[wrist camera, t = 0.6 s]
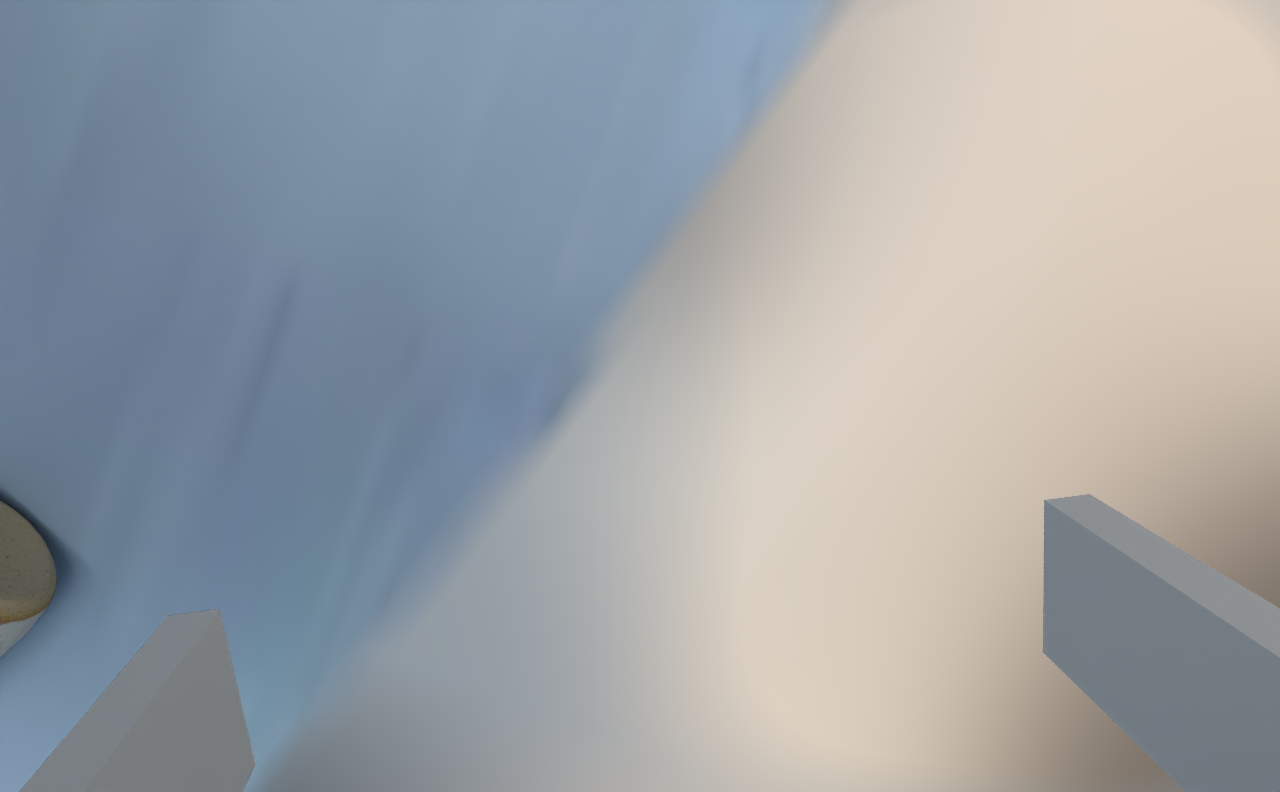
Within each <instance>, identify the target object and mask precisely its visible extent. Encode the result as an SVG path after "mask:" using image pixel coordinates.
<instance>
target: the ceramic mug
mask: <svg viewBox="0 0 1280 792" xmlns="http://www.w3.org/2000/svg"><path fill="white" fill-rule="evenodd" d="M56 582H57V575H56V569H55V563H54V561H53V558H52V556H51V553H50V551H49V549H48V547H47V545H46V543H45V541H44V540H43V538H42V537H41V535H40V534H39V533H38V532H37V531H36V530H35V528H34V527H33V526H32V525H31V524H30V523H29V522H28V521H27V520H26V519H25V518H24V517H23V516H22V515H21V514H19V513H18V512H17V511H15V510H14V509H12V508H11V507H9V506H8V505H7V504H5V503H4V502H2V501H0V657H2V656H3V655H4V654H5V653H6V652H7V651H8V650H9V649H10V648H11V647H12V646H14V645H15V644H16V643H17V642H18V641H19V640H20V639H21V638H22V637H23V636H24V635H25V634H26V633H27V632H28V631H29V630H30V629H31V628H32V627H33V625H34V624H35V623H36V621H37V620H38V619H39V617H40V616H41V615H42V614H43V612H44V611H45V610H46V608H47V607H48V606H49V604H50V602H51V600H52V598H53V595H54V593H55V587H56Z"/></svg>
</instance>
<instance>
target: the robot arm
mask: <svg viewBox="0 0 1280 792" xmlns="http://www.w3.org/2000/svg"><path fill="white" fill-rule="evenodd" d="M1044 504H1045V505H1044V608H1043V613H1044V614H1043V615H1044V616H1043V652H1044V654H1046V656H1047V657H1049V658H1050V659H1051V660H1052V661H1053V662H1054V663H1055V664H1056V665H1057V666H1058V667H1059V668H1060V669H1061V670H1062V671H1063V672H1064V673H1065V674H1066V675H1067V676H1068V677H1069V678H1070V679H1071V680H1072V681H1073V682H1074V683H1075V684H1076V685H1077V686H1078V687H1079V688H1080V689H1081V690H1082V691H1083V692H1084V693H1085V694H1086V695H1087V696H1088V697H1089V698H1090V699H1091V700H1092V701H1094V702H1095V703H1096V704H1097V705H1098V706H1099V707H1100V708H1101V709H1102V710H1103V711H1104V712H1105V713H1106V714H1107V715H1108V716H1109V717H1110V718H1111V719H1112V720H1113V721H1114V722H1115V723H1116V724H1117V725H1118V726H1119V727H1120V728H1121V729H1122V730H1123V731H1124V732H1125V733H1126V734H1127V735H1128V736H1129V737H1130V738H1131V739H1132V740H1133V741H1134V742H1135V743H1136V744H1138V745H1139V746H1140V747H1141V748H1142V749H1143V750H1144V751H1145V752H1146V753H1147V754H1148V755H1149V756H1150V757H1151V758H1152V759H1153V760H1154V761H1155V762H1156V763H1157V764H1158V765H1159V766H1160V767H1161V768H1162V769H1163V770H1164V771H1165V772H1166V773H1167V774H1168V775H1169V776H1170V777H1171V778H1172V779H1173V780H1174V781H1175V782H1176V783H1177V784H1178V785H1180V786H1181V787H1182V788H1183V789H1184V790H1185V791H1186V792H1280V609H1279V608H1277V607H1276V606H1274V605H1272V604H1271V603H1269V602H1268V601H1266V600H1264V599H1263V598H1261V597H1259V596H1258V595H1256V594H1254V593H1253V592H1251V591H1249V590H1248V589H1246V588H1244V587H1242V586H1241V585H1239V584H1238V583H1236V582H1234V581H1233V580H1231V579H1229V578H1227V577H1226V576H1224V575H1223V574H1221V573H1219V572H1218V571H1216V570H1214V569H1213V568H1211V567H1209V566H1208V565H1206V564H1204V563H1203V562H1201V561H1199V560H1198V559H1196V558H1195V557H1193V556H1191V555H1190V554H1188V553H1186V552H1184V551H1183V550H1181V549H1180V548H1178V547H1176V546H1175V545H1173V544H1171V543H1170V542H1168V541H1166V540H1164V539H1163V538H1161V537H1160V536H1158V535H1156V534H1155V533H1153V532H1151V531H1150V530H1148V529H1146V528H1145V527H1143V526H1141V525H1140V524H1138V523H1136V522H1135V521H1133V520H1131V519H1130V518H1128V517H1126V516H1125V515H1123V514H1122V513H1120V512H1118V511H1116V510H1115V509H1113V508H1111V507H1110V506H1108V505H1107V504H1105V503H1103V502H1102V501H1100V500H1098V499H1097V498H1095V497H1093V496H1092V495H1090V494H1087V495H1080V496H1072V497H1065V498H1057V499H1050V500H1044ZM254 767H255V761H254V757H253V752H252V748H251V744H250V739H249V735H248V730H247V726H246V722H245V717H244V713H243V709H242V704H241V700H240V696H239V691H238V687H237V683H236V678H235V674H234V670H233V665H232V661H231V657H230V652H229V648H228V644H227V639H226V635H225V631H224V626H223V622H222V617H221V613H220V609H214V610H207V611H199V612H191V613H184V614H176V615H169V616H167V617H166V619H165V620H164V621H163V622H162V623H161V625H160V626H159V627H158V628H157V629H156V630H155V632H154V633H153V634H152V635H151V636H150V638H149V639H148V640H147V641H146V642H145V644H144V645H143V646H142V647H141V648H140V649H139V651H138V652H137V653H136V654H135V655H134V657H133V658H132V659H131V660H130V661H129V662H128V664H127V665H126V666H125V667H124V668H123V670H122V671H121V672H120V673H119V674H118V675H117V677H116V678H115V679H114V680H113V681H112V683H111V684H110V685H109V686H108V687H107V688H106V690H105V691H104V692H103V693H102V694H101V696H100V697H99V698H98V699H97V700H96V702H95V703H94V704H93V705H92V706H91V707H90V709H89V710H88V711H87V712H86V713H85V715H84V716H83V717H82V718H81V719H80V720H79V722H78V723H77V724H76V725H75V726H74V728H73V729H72V730H71V731H70V732H69V733H68V735H67V736H66V737H65V738H64V739H63V741H62V742H61V743H60V744H59V745H58V746H57V748H56V749H55V750H54V751H53V752H52V754H51V755H50V756H49V757H48V758H47V759H46V761H45V762H44V763H43V764H42V765H41V767H40V768H39V769H38V770H37V771H36V773H35V774H34V775H33V776H32V777H31V778H30V780H29V781H28V782H27V783H26V784H25V786H24V787H23V788H22V789H21V790H20V791H19V792H243V790H244V788H245V786H246V784H247V782H248V780H249V778H250V776H251V773H252V771H253V769H254Z"/></svg>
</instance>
